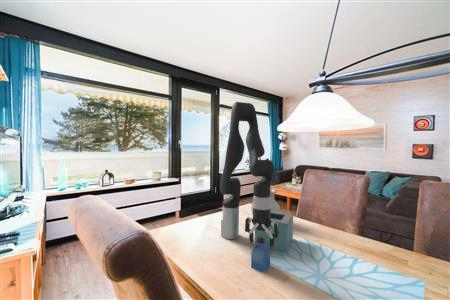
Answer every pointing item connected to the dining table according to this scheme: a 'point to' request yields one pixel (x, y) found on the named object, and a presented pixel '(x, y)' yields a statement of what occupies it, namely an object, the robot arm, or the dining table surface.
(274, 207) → the ceramic pitcher
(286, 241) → the box
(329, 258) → the dining table surface
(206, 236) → the dining table surface
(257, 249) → the perfume bottle
